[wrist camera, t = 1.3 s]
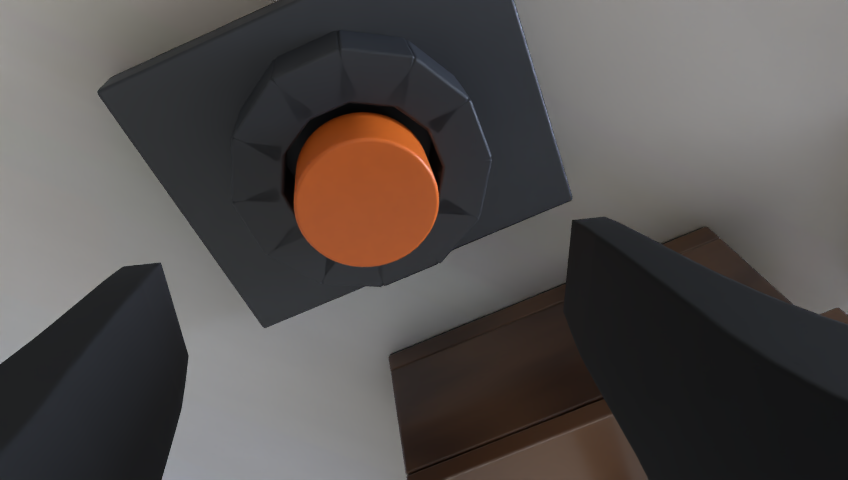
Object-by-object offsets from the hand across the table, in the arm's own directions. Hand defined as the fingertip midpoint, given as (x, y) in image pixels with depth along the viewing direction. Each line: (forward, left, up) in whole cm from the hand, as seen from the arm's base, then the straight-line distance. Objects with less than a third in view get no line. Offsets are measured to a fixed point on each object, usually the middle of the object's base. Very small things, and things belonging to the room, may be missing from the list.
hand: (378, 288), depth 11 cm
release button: (0, 0, -5) cm, 5 cm away
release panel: (0, 0, -7) cm, 7 cm away
